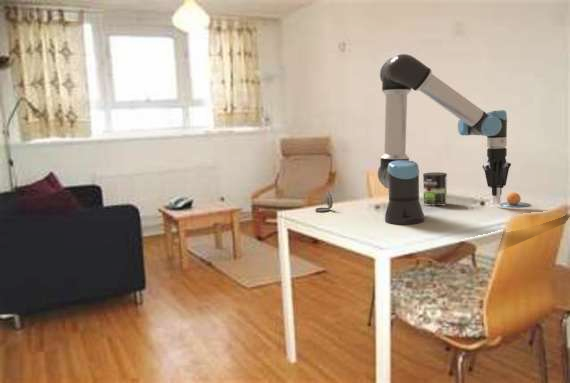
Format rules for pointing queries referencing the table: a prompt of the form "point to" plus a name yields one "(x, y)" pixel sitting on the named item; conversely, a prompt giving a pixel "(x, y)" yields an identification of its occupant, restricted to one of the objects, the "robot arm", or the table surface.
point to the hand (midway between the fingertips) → (496, 203)
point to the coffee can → (435, 188)
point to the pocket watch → (329, 204)
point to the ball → (513, 198)
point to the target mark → (520, 204)
